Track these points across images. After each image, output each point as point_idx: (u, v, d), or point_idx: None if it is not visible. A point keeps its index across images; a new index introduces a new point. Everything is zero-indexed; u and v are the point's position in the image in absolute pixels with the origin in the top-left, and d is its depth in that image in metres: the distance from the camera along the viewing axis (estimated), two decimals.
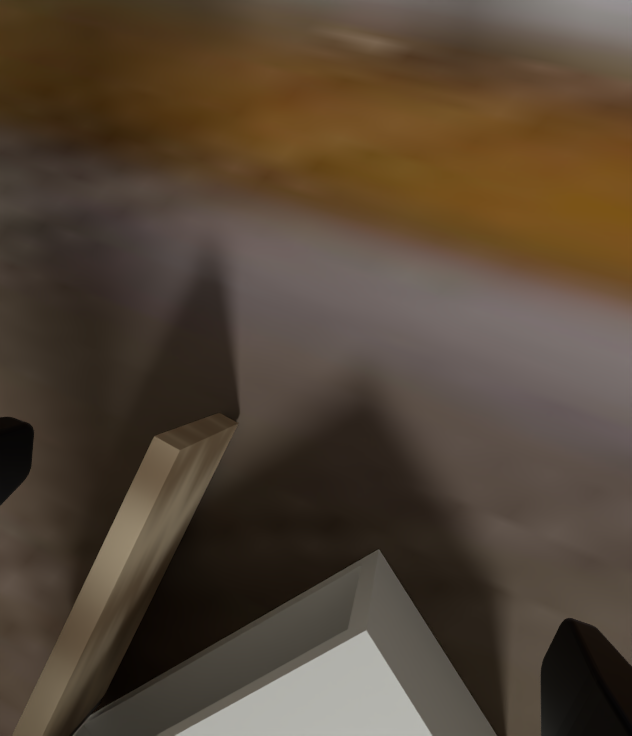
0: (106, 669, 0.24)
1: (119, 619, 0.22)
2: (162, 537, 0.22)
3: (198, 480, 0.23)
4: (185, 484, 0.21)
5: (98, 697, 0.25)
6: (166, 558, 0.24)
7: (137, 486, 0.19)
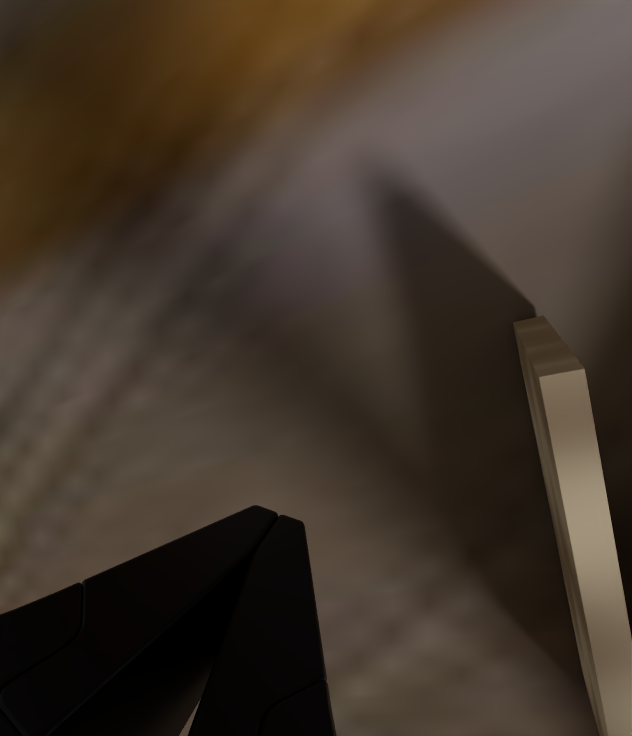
0: None
1: None
2: None
3: None
4: None
5: None
6: None
7: (562, 445, 0.14)
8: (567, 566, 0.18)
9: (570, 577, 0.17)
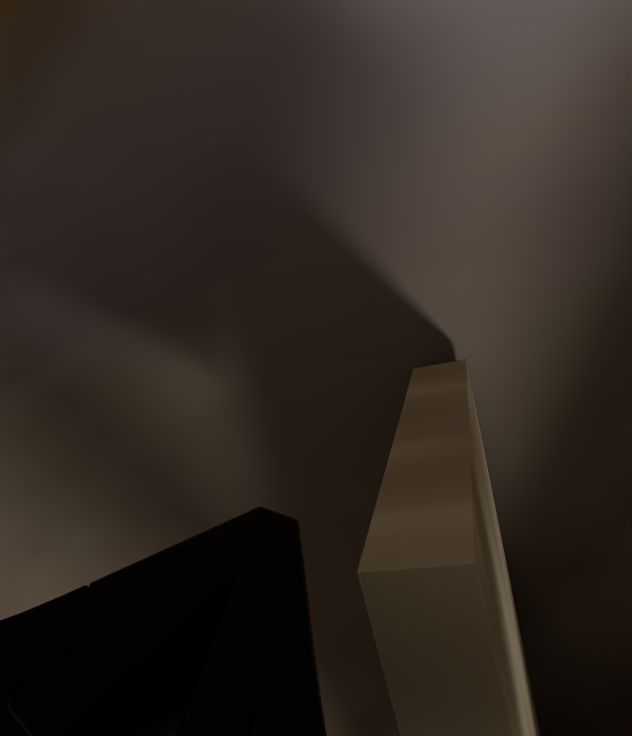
0: None
1: None
2: (526, 707, 0.08)
3: (494, 529, 0.09)
4: (497, 577, 0.08)
5: None
6: (530, 691, 0.11)
7: None
8: None
9: None
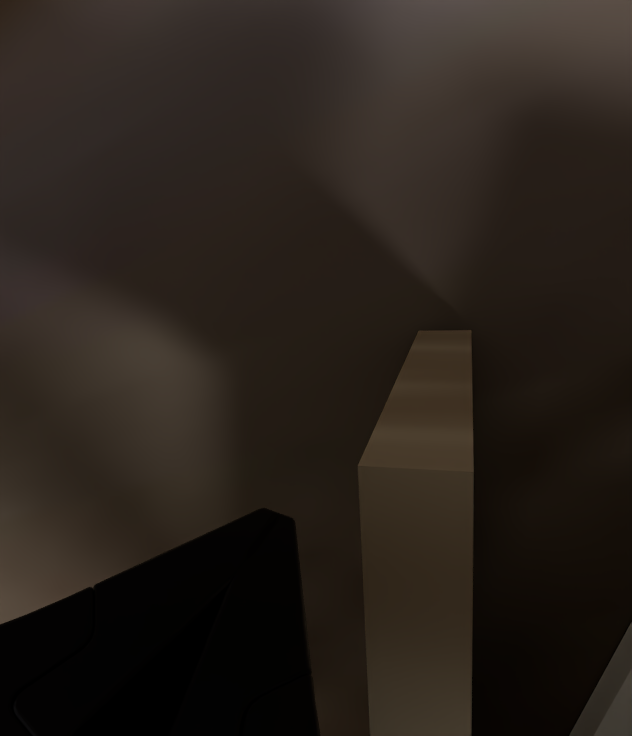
0: None
1: None
2: None
3: None
4: None
5: None
6: None
7: (388, 641, 0.05)
8: None
9: None
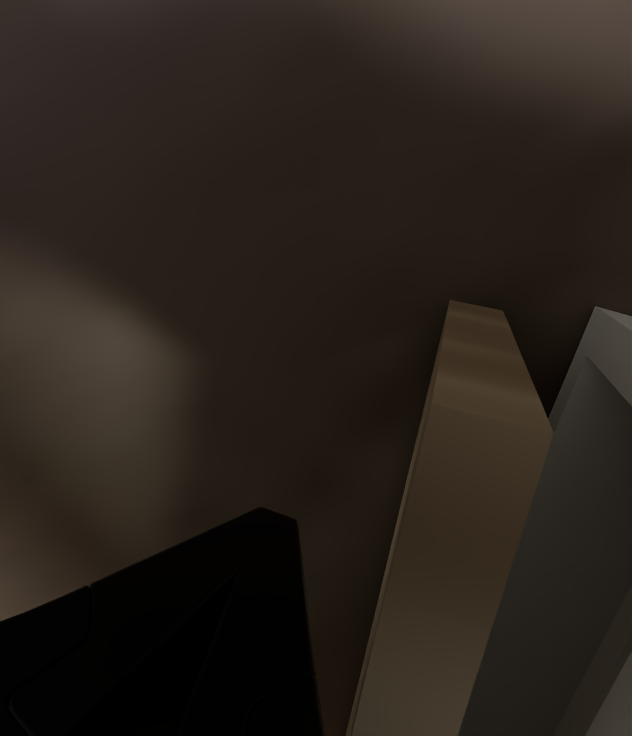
0: None
1: None
2: None
3: None
4: None
5: None
6: None
7: (412, 587, 0.05)
8: None
9: None
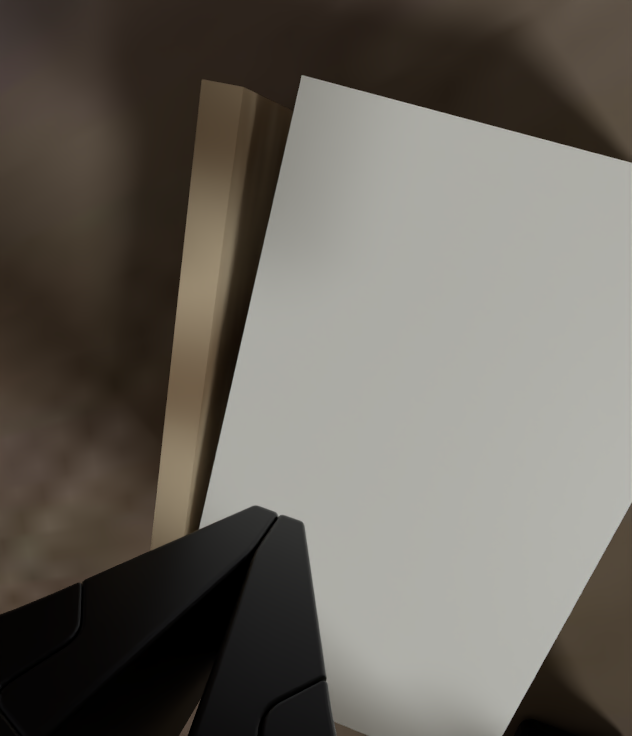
0: None
1: None
2: (256, 269, 0.17)
3: None
4: (265, 183, 0.16)
5: None
6: None
7: (201, 165, 0.13)
8: None
9: None
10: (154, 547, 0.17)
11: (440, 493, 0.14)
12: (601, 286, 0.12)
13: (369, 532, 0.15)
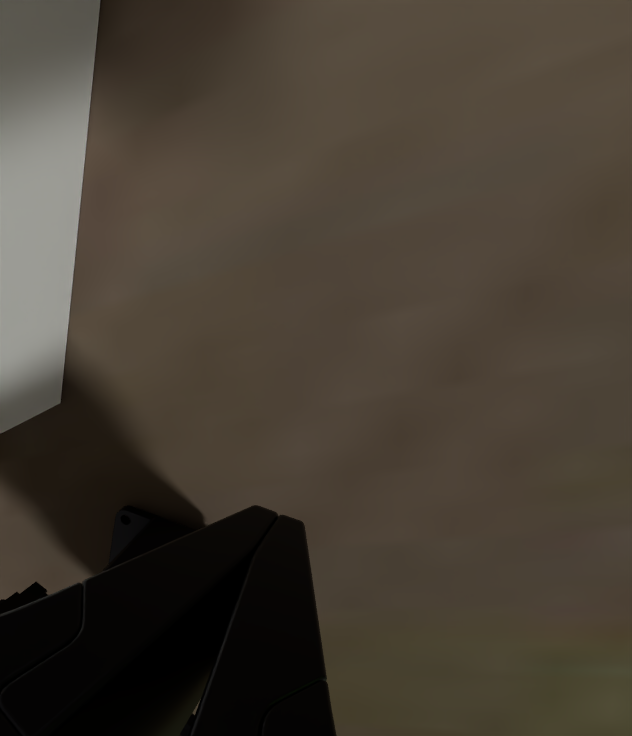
0: None
1: None
2: None
3: None
4: None
5: None
6: None
7: None
8: None
9: None
10: None
11: None
12: None
13: None
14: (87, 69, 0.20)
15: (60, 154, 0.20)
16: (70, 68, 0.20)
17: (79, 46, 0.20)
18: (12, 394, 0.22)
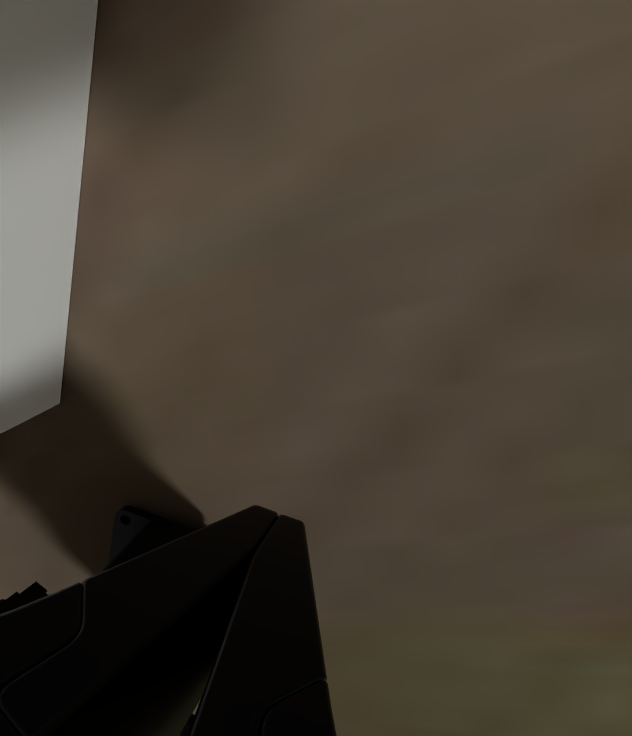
0: None
1: None
2: None
3: None
4: None
5: None
6: None
7: None
8: None
9: None
10: None
11: None
12: None
13: None
14: (85, 69, 0.20)
15: (58, 154, 0.20)
16: (67, 69, 0.20)
17: (77, 46, 0.20)
18: (11, 394, 0.22)
